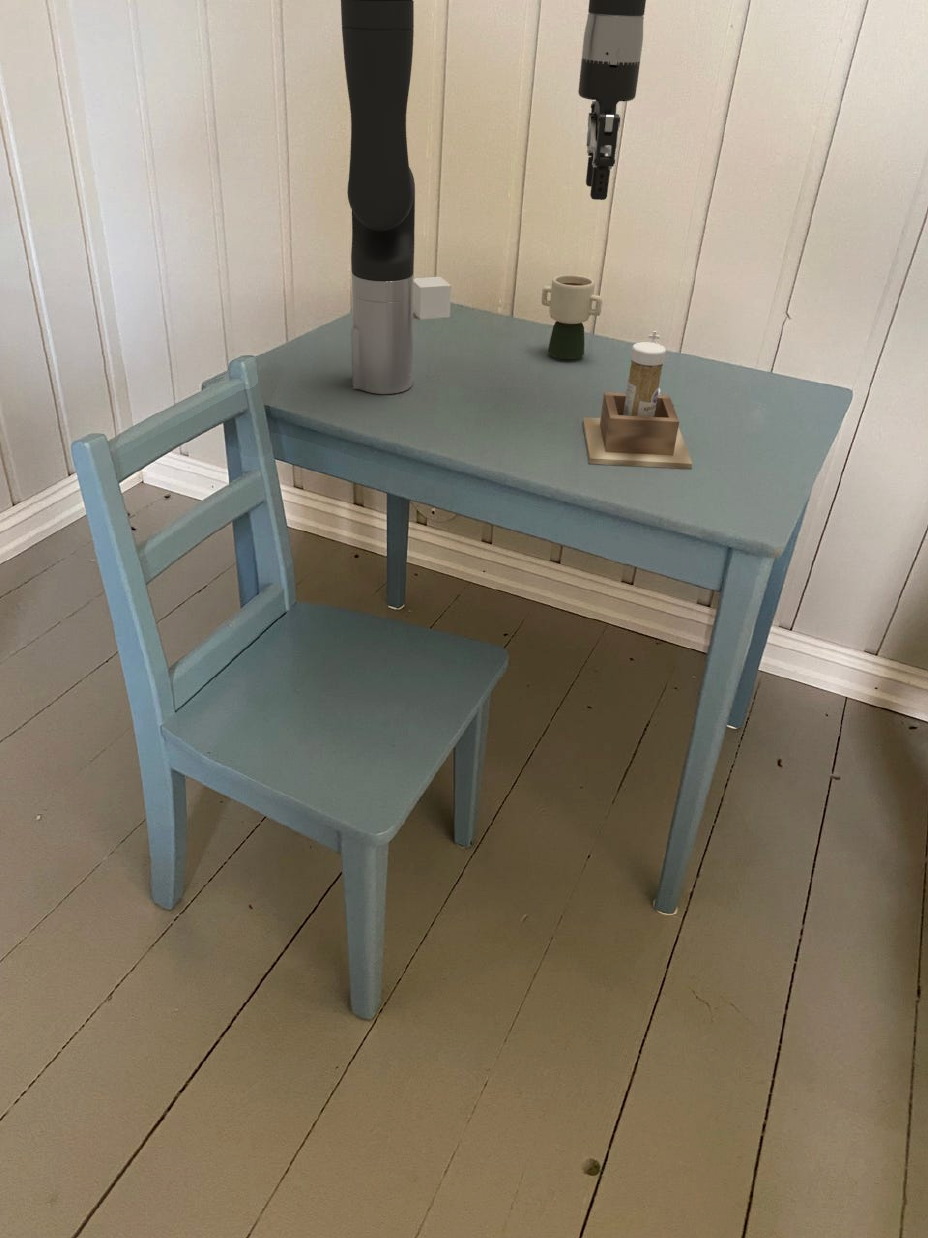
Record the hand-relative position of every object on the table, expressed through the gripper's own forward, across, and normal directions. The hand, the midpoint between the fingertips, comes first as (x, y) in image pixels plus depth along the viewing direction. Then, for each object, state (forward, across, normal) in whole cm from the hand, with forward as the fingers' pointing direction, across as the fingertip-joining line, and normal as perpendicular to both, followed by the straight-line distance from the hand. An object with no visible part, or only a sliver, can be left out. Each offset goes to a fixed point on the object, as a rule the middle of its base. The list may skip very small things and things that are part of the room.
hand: (595, 192), depth 129 cm
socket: (+30, +16, +8) cm, 35 cm away
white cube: (+30, -39, -25) cm, 55 cm away
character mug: (+30, -19, 0) cm, 36 cm away
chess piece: (+30, -4, +12) cm, 33 cm away
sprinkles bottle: (+30, +16, +8) cm, 34 cm away
